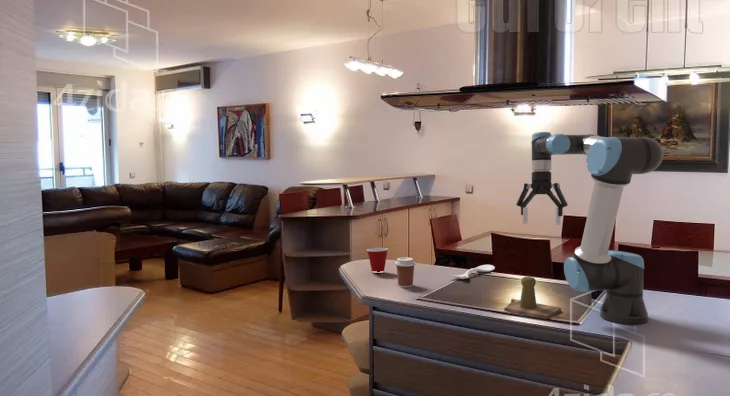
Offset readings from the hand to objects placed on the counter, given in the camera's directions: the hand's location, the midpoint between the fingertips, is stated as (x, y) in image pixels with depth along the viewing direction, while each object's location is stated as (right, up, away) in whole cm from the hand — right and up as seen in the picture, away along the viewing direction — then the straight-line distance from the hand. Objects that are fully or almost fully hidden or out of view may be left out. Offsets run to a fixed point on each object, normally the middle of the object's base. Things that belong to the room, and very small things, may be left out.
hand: (541, 224), depth 218 cm
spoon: (-19, -27, +40) cm, 52 cm away
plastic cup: (-65, -26, +47) cm, 84 cm away
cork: (-10, -30, -17) cm, 36 cm away
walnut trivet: (-9, -31, -18) cm, 37 cm away
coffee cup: (-53, -28, +21) cm, 64 cm away
